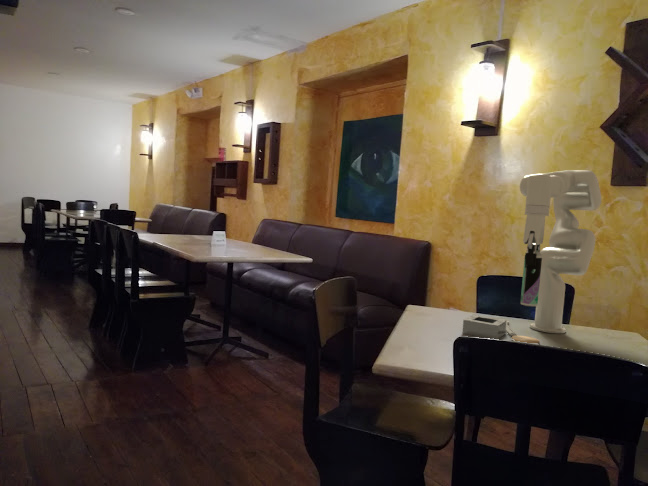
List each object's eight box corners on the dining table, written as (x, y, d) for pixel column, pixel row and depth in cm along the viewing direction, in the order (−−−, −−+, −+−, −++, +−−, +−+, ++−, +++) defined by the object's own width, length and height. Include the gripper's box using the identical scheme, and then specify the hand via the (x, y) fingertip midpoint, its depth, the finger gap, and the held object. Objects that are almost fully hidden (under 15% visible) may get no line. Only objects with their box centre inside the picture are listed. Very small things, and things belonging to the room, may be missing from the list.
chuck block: (472, 327, 189) (473, 314, 188) (505, 333, 182) (506, 320, 182) (462, 333, 179) (463, 319, 178) (496, 340, 172) (498, 325, 172)
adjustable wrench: (517, 339, 177) (518, 334, 177) (498, 337, 178) (499, 332, 178) (507, 323, 201) (508, 319, 201) (491, 322, 203) (491, 317, 202)
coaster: (514, 336, 179) (514, 334, 179) (541, 341, 174) (541, 339, 174) (508, 341, 171) (508, 338, 171) (536, 346, 167) (536, 344, 167)
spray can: (529, 306, 168) (535, 247, 167) (516, 303, 173) (522, 245, 172) (541, 306, 170) (546, 247, 169) (527, 303, 175) (533, 246, 174)
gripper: (530, 211, 179) (525, 261, 180) (519, 210, 164) (515, 265, 166) (553, 212, 175) (548, 264, 176) (544, 211, 160) (539, 267, 162)
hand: (532, 264), depth 171 cm, fingers closed on spray can, 5 cm apart
